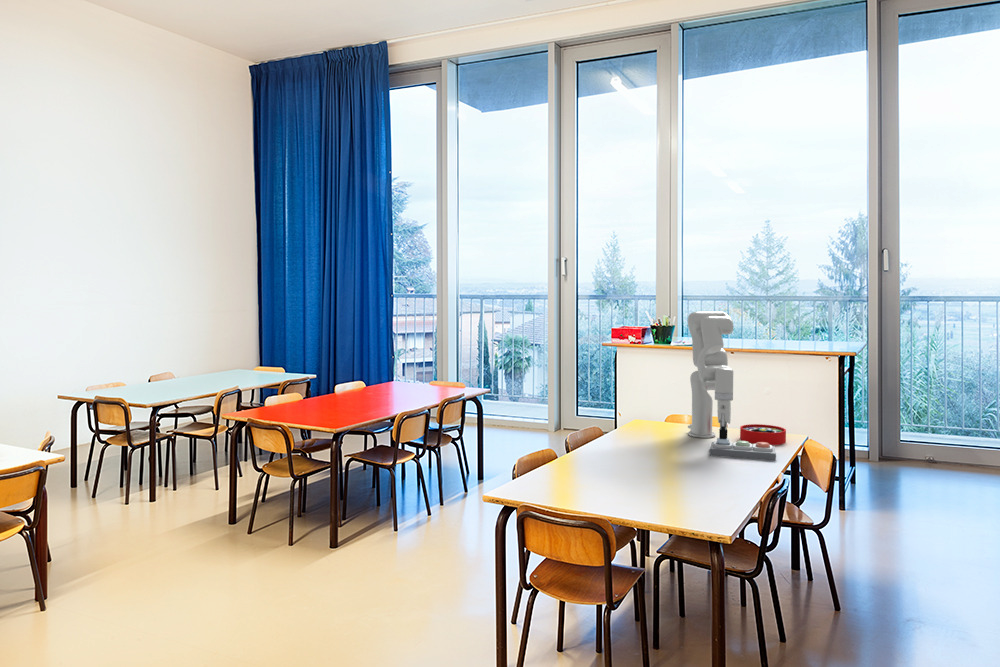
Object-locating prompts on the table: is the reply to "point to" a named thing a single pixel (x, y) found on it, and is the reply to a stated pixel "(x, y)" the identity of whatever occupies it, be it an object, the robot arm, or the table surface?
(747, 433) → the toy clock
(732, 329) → the robot arm
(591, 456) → the table surface
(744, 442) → the sage button
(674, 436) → the table surface
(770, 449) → the console
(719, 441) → the blue grey button
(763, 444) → the brick button
